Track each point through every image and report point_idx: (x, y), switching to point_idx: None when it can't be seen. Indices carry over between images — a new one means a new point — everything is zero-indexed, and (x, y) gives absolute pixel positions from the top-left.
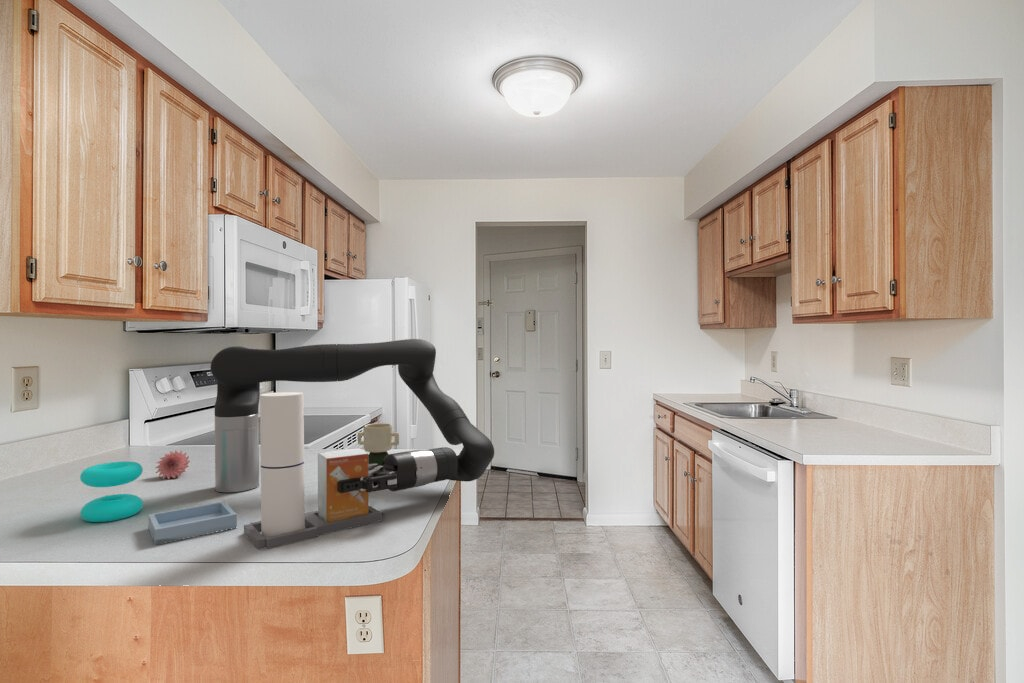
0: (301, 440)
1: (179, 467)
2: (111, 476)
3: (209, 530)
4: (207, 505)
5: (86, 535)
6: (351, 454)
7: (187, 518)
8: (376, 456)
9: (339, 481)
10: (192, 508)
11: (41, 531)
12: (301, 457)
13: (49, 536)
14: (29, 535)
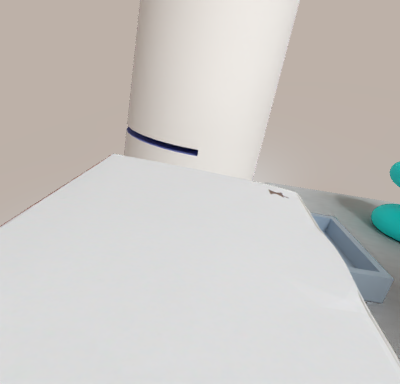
0: (151, 39)
1: None
2: (396, 170)
3: None
4: (366, 258)
5: (324, 210)
6: (54, 218)
7: (342, 254)
8: None
9: None
10: (353, 245)
11: (354, 203)
12: (140, 111)
13: (333, 201)
14: (343, 198)
